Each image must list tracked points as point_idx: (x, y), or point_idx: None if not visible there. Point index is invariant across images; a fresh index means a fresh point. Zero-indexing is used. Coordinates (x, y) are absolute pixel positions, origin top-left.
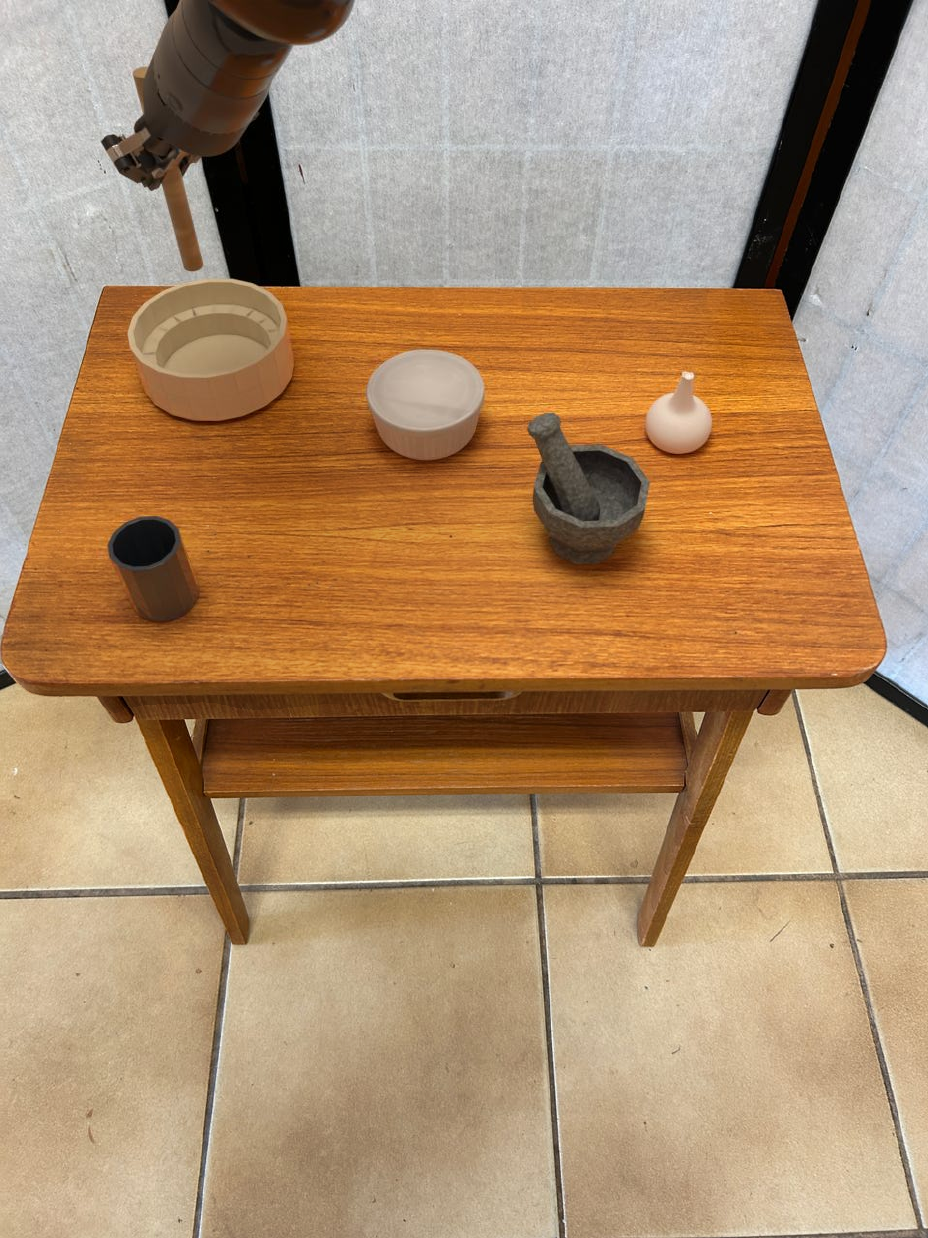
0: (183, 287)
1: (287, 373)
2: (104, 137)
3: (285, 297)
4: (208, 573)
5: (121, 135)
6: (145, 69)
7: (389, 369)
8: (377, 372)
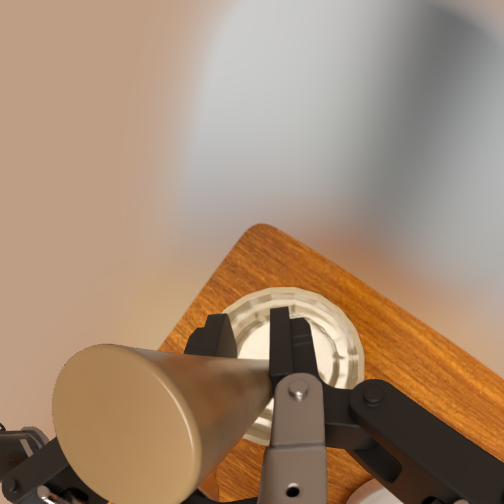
0: (290, 293)
1: None
2: (5, 484)
3: (385, 299)
4: None
5: (40, 498)
6: (126, 420)
7: (386, 494)
8: (376, 494)
